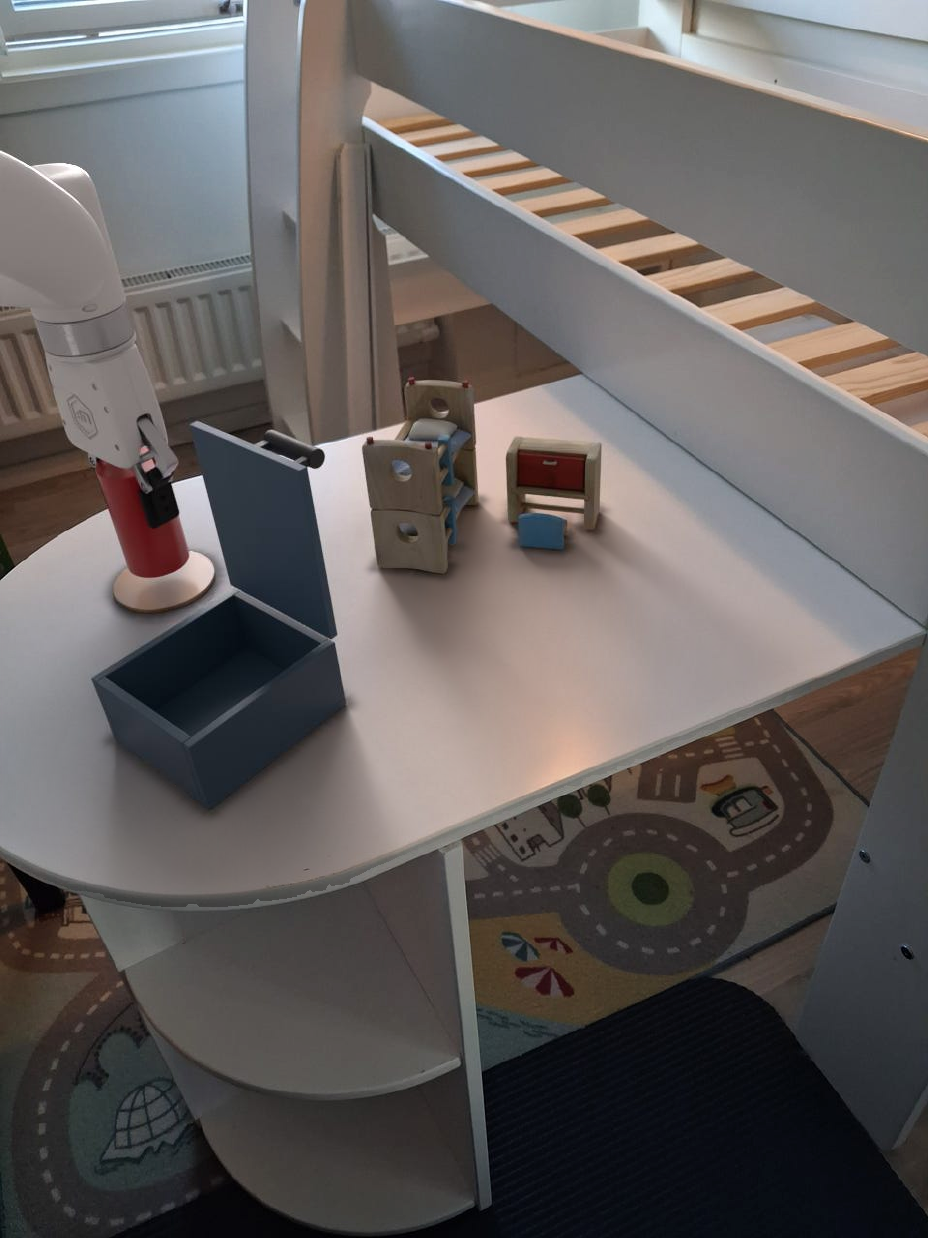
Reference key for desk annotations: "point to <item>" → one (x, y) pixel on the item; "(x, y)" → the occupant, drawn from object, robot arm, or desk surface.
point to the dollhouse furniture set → (465, 480)
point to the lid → (268, 521)
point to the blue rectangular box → (221, 694)
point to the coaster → (165, 587)
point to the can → (140, 524)
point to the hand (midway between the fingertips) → (142, 508)
